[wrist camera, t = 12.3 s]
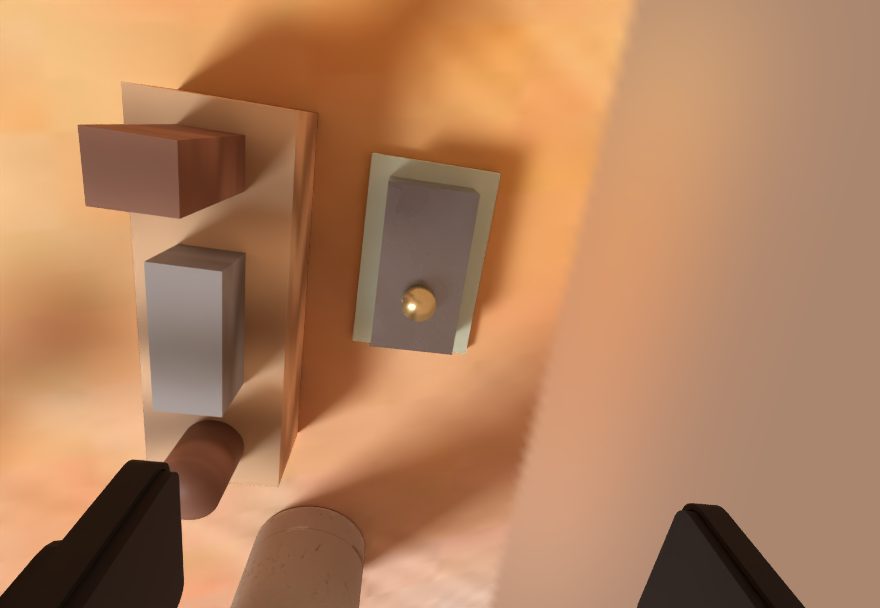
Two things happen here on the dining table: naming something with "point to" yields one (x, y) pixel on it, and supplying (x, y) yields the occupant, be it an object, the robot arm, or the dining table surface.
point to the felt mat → (374, 223)
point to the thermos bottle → (304, 562)
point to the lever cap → (423, 264)
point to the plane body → (212, 276)
